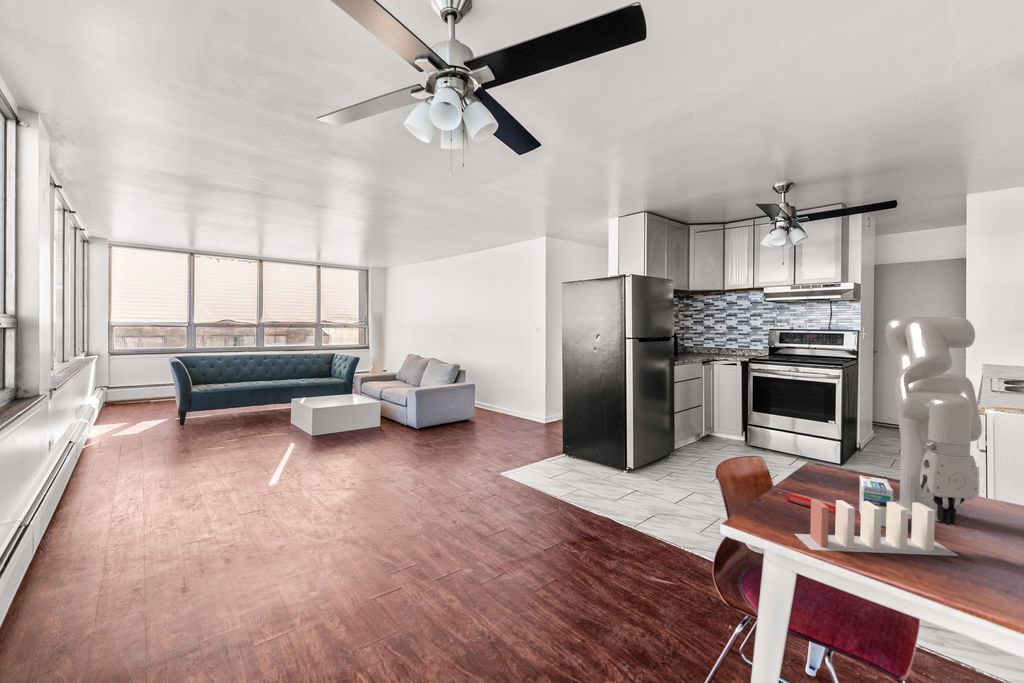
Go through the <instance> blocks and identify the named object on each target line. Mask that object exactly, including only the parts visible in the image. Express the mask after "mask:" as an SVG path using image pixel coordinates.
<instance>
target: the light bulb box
mask: <svg viewBox="0 0 1024 683" xmlns="http://www.w3.org/2000/svg"><path fill="white" fill-rule="evenodd" d="M861 501H869V502H870V503H872V504H874V505H875V506H877V507H879V508H880V509H881V527H884V528H886V512H887V502H894V489H893V488H892V487H891V484H890V483H889V479H885V478H880V477H879V478H878V477H872V476H865V475H859V506H858V509H859V511H858V512H859V513H860V515H861Z"/></svg>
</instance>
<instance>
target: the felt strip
mask: <svg viewBox="0 0 1024 683" xmlns="http://www.w3.org/2000/svg"><path fill="white" fill-rule="evenodd" d="M794 536H796V537H797V538H798V540H799V541H801V542H802V543H803V544H804V545H805V546H806V547H808V548H809V550H810V551H828V552H829V551H831V552H832V551H833V552H851V553H852V552H853V553H855V552H857V553H877V554H878V553H880V554H904V555H905V554H906V555H927V556H928V555H930V556H931V555H932V556H952V557H953V556H954V557H955V556H956V557H959V556H960V555H959V554H957V553H955V552H953V550H950V549H949V548H947V547H945V546H943V545H942V544H940V543H939V542H937V541H936V540H934V551H926V550H924V549H923V548H921V547H920V546H918V545H917V544H915V543H913V542H912V541H911V537H907V550H899V549H898V548H896V547H895V546H893V545H892V544H891V543H889V542H888V541H886V536H881V544H880V549H873V548H871V547H870V546H869V545H867V544H866V543H865V542H863V541H862V540H861V539H860V535H854V548H847V547H845V546H844V545H843V544H842V543H840V542H839V541H838V540H837V539H835V534H828V547H821V546H820V545H818V544H817V543H816V542H815V541H814V540H813V539H812V538H811V537H810V533H807V534H806V533H794Z"/></svg>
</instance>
